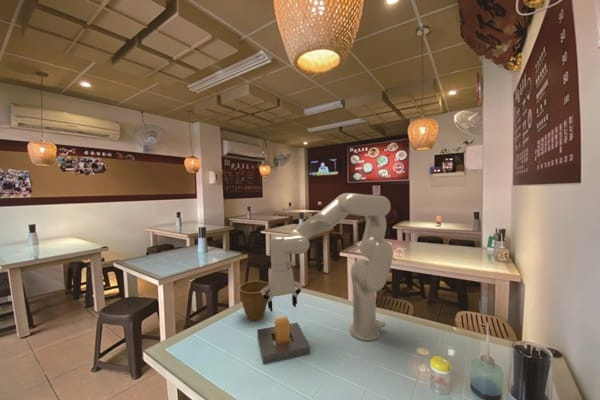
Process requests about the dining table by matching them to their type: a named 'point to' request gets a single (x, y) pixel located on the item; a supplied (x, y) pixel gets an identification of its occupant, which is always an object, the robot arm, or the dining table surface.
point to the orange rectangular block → (282, 330)
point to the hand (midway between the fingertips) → (282, 307)
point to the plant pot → (253, 299)
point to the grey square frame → (285, 350)
